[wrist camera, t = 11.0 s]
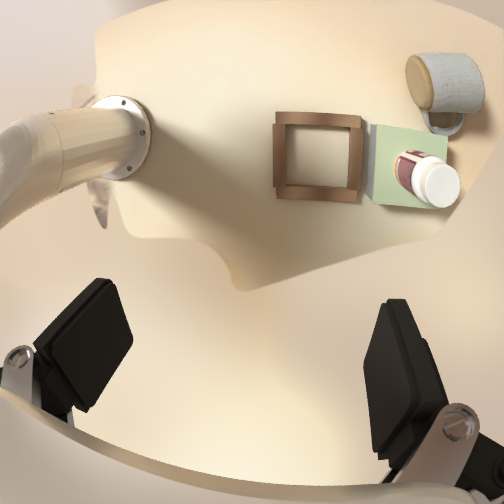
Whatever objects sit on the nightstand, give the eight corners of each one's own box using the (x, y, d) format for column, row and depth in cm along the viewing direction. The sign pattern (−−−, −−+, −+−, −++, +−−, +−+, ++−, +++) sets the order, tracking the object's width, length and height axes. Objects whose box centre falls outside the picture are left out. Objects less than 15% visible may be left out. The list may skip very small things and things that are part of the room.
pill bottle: (408, 197, 29) (438, 222, 22) (385, 166, 28) (411, 183, 21) (435, 172, 27) (471, 191, 20) (413, 140, 26) (447, 149, 19)
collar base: (274, 195, 36) (273, 198, 35) (273, 111, 31) (272, 111, 30) (357, 200, 34) (359, 202, 33) (361, 116, 30) (363, 116, 28)
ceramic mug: (396, 58, 25) (419, 47, 18) (448, 57, 23) (477, 50, 16) (415, 137, 29) (442, 145, 23) (464, 133, 27) (496, 141, 20)
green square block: (366, 194, 34) (373, 203, 30) (370, 123, 30) (378, 124, 26) (427, 200, 32) (439, 209, 29) (434, 134, 28) (448, 136, 25)
